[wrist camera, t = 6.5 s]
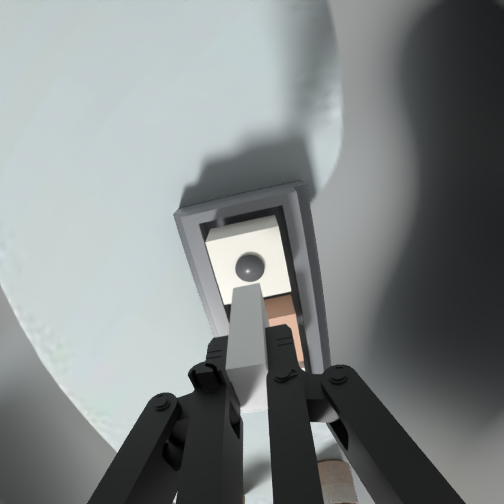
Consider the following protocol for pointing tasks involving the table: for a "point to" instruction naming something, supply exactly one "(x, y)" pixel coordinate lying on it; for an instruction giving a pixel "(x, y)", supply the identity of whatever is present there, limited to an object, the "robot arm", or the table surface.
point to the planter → (337, 482)
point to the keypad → (295, 251)
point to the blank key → (284, 318)
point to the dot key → (248, 257)
